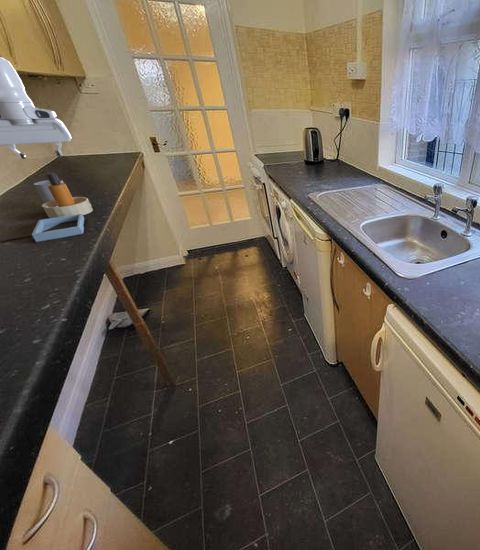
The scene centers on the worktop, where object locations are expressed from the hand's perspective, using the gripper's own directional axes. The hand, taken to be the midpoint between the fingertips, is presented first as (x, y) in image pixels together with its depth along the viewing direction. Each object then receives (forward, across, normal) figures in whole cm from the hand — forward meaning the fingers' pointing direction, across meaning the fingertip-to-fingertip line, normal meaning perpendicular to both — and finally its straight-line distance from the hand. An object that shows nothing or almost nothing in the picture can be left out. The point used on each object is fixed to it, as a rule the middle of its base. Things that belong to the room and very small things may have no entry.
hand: (42, 157), depth 104 cm
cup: (+21, -4, +14) cm, 26 cm away
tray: (+21, -2, -18) cm, 28 cm away
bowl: (+21, 0, 0) cm, 21 cm away
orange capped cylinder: (+20, 0, 0) cm, 21 cm away
